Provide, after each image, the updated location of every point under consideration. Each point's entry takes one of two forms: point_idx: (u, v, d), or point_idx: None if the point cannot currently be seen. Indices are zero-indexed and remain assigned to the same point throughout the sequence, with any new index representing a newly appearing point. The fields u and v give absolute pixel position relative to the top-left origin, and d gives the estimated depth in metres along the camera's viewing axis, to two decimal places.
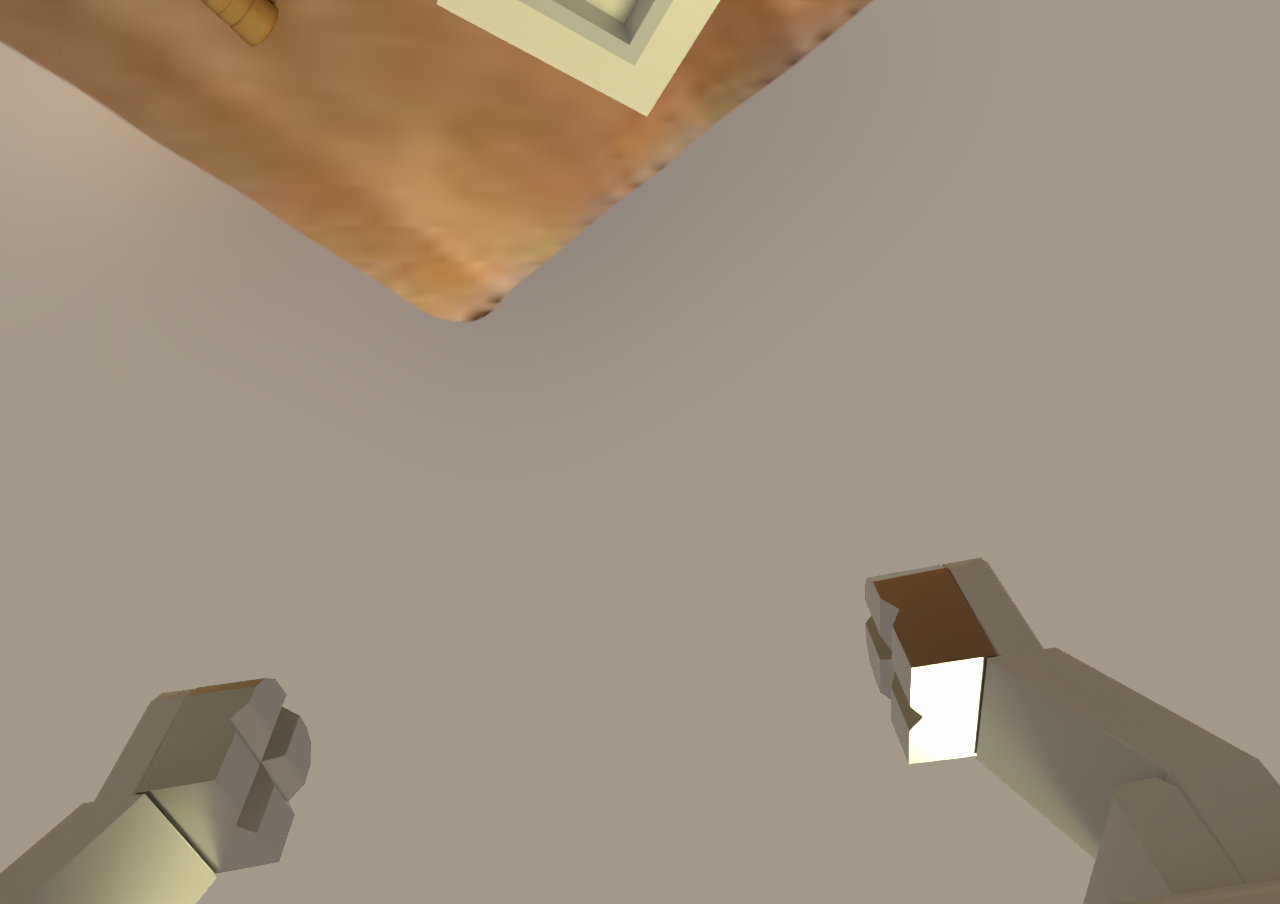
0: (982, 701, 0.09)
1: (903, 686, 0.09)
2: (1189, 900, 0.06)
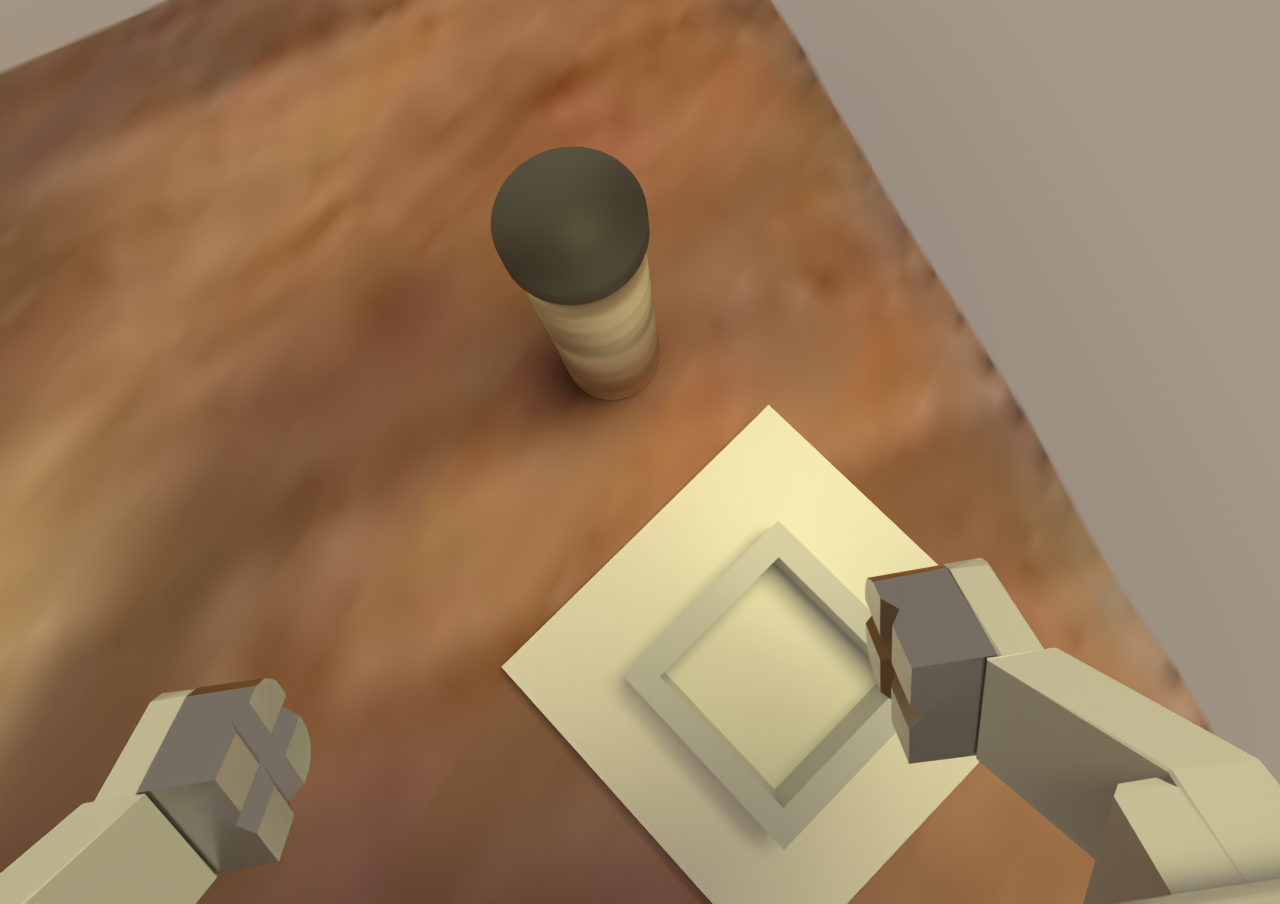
0: (982, 701, 0.09)
1: (903, 686, 0.09)
2: (1189, 900, 0.06)
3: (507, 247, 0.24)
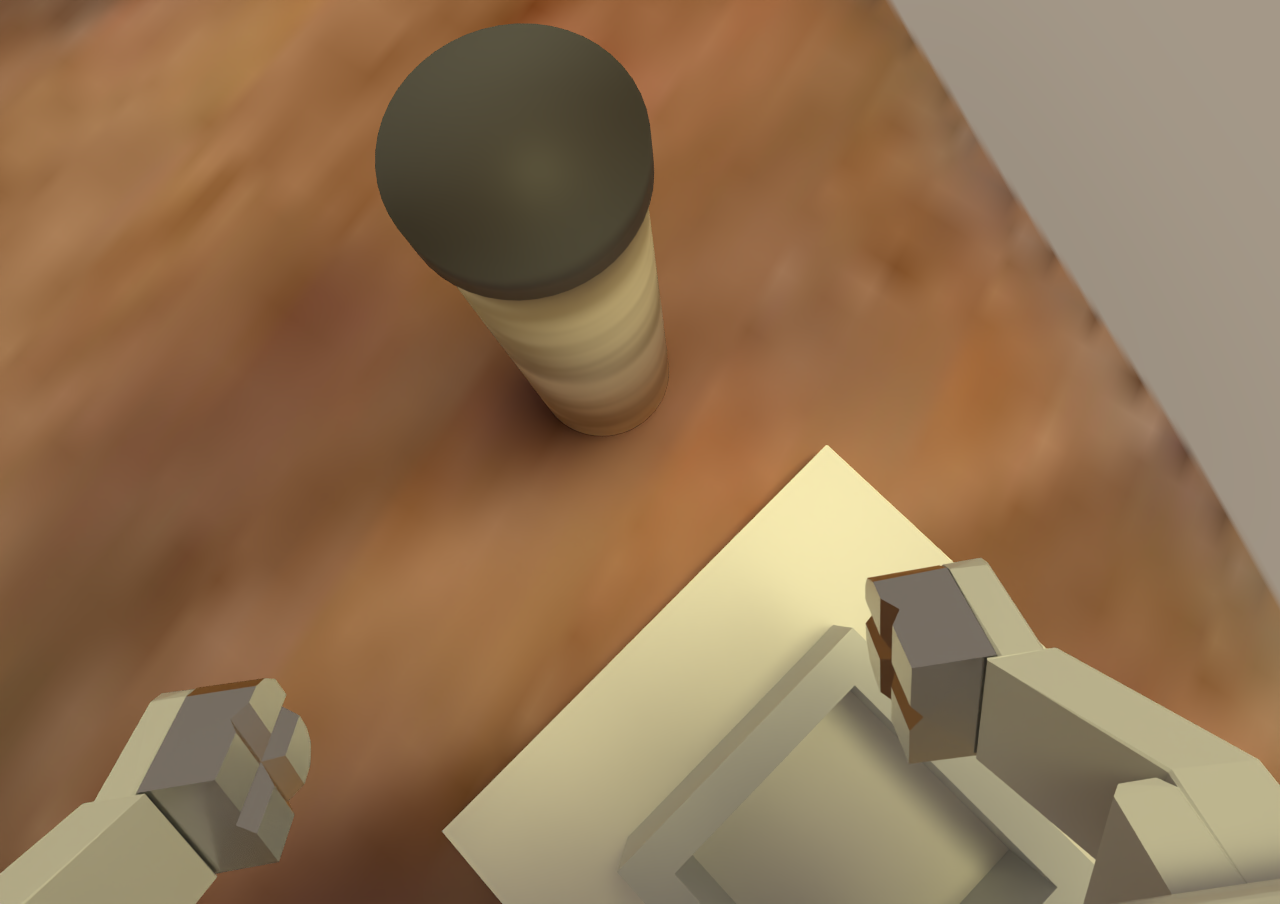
0: (982, 701, 0.09)
1: (903, 686, 0.09)
2: (1190, 900, 0.06)
3: (402, 198, 0.14)
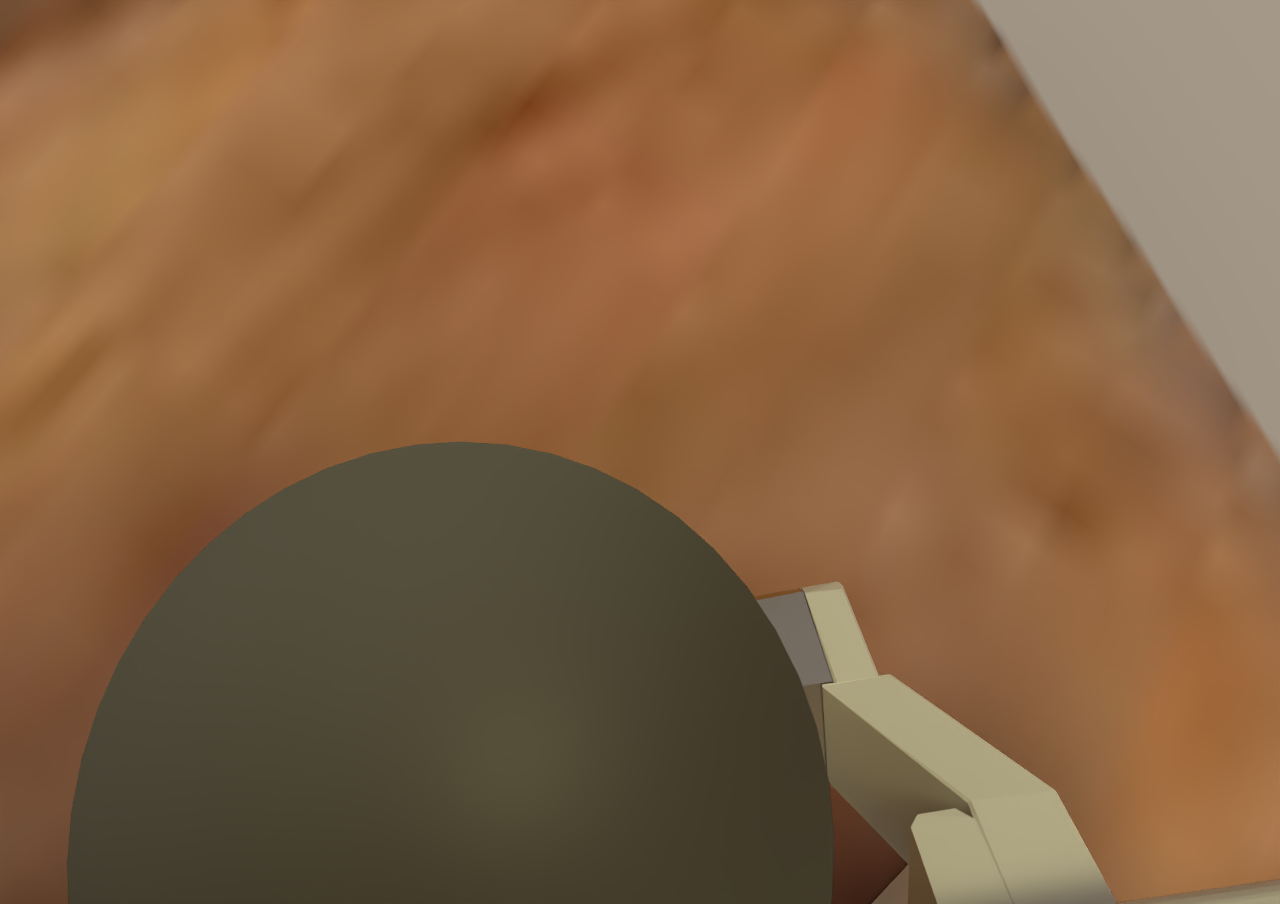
0: (825, 726, 0.09)
1: None
2: (1190, 900, 0.06)
3: None
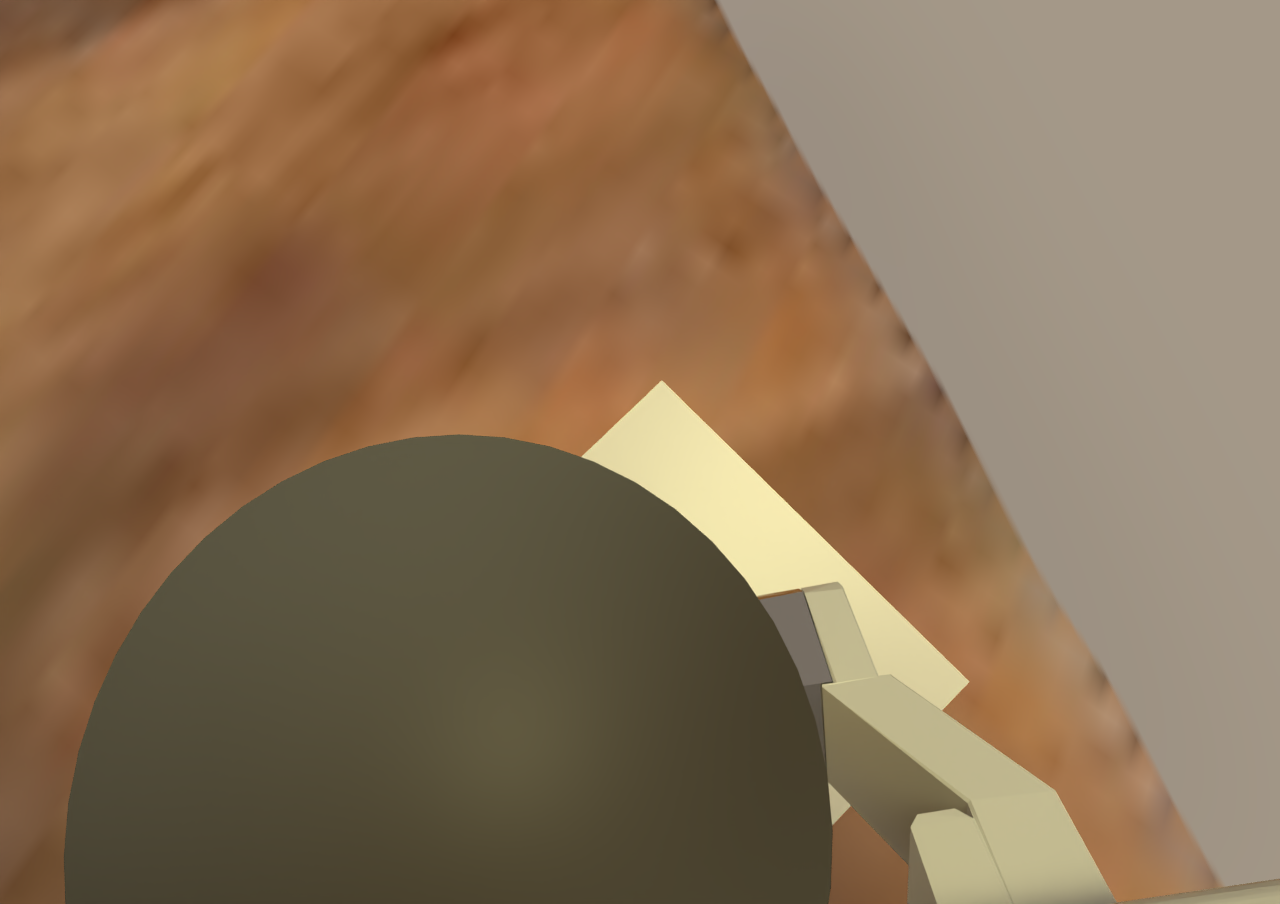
0: (825, 727, 0.09)
1: None
2: (1190, 900, 0.06)
3: None
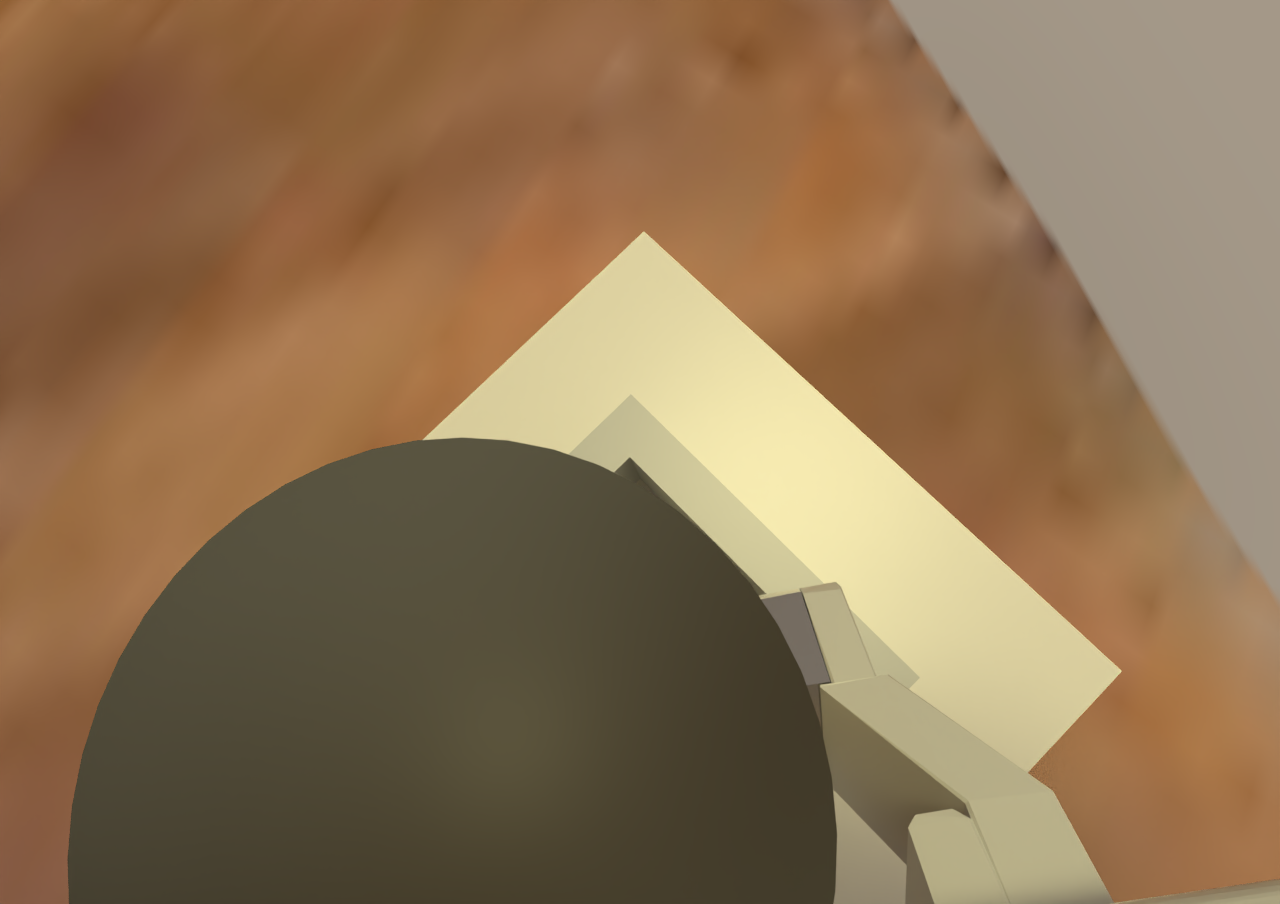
0: (822, 726, 0.09)
1: None
2: (1190, 900, 0.06)
3: None
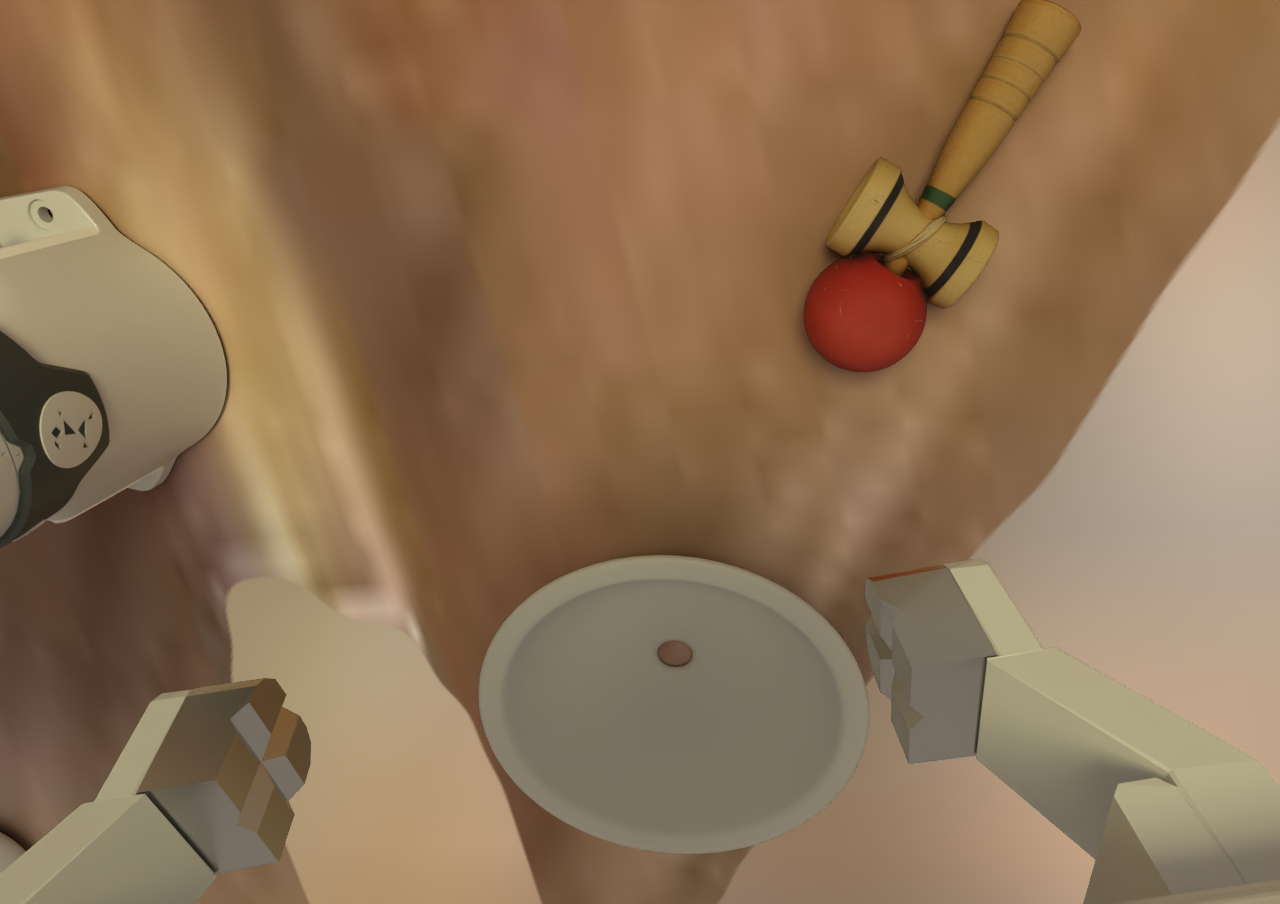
0: (982, 701, 0.09)
1: (903, 686, 0.09)
2: (1190, 900, 0.06)
3: None
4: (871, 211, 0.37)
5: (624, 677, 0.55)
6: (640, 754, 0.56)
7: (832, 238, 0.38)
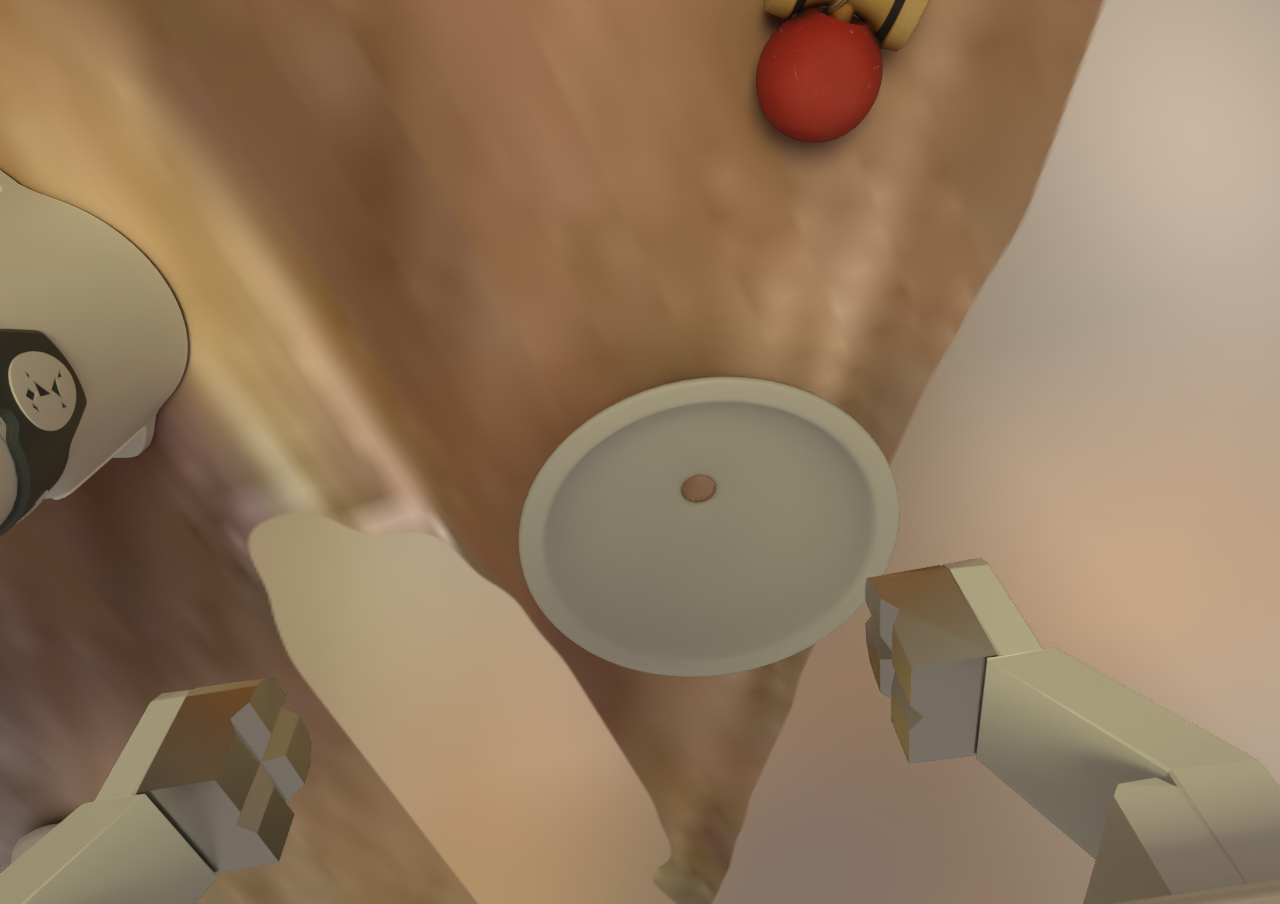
0: (983, 701, 0.09)
1: (903, 686, 0.09)
2: (1190, 900, 0.06)
3: None
4: None
5: (655, 523, 0.56)
6: (687, 592, 0.58)
7: None
